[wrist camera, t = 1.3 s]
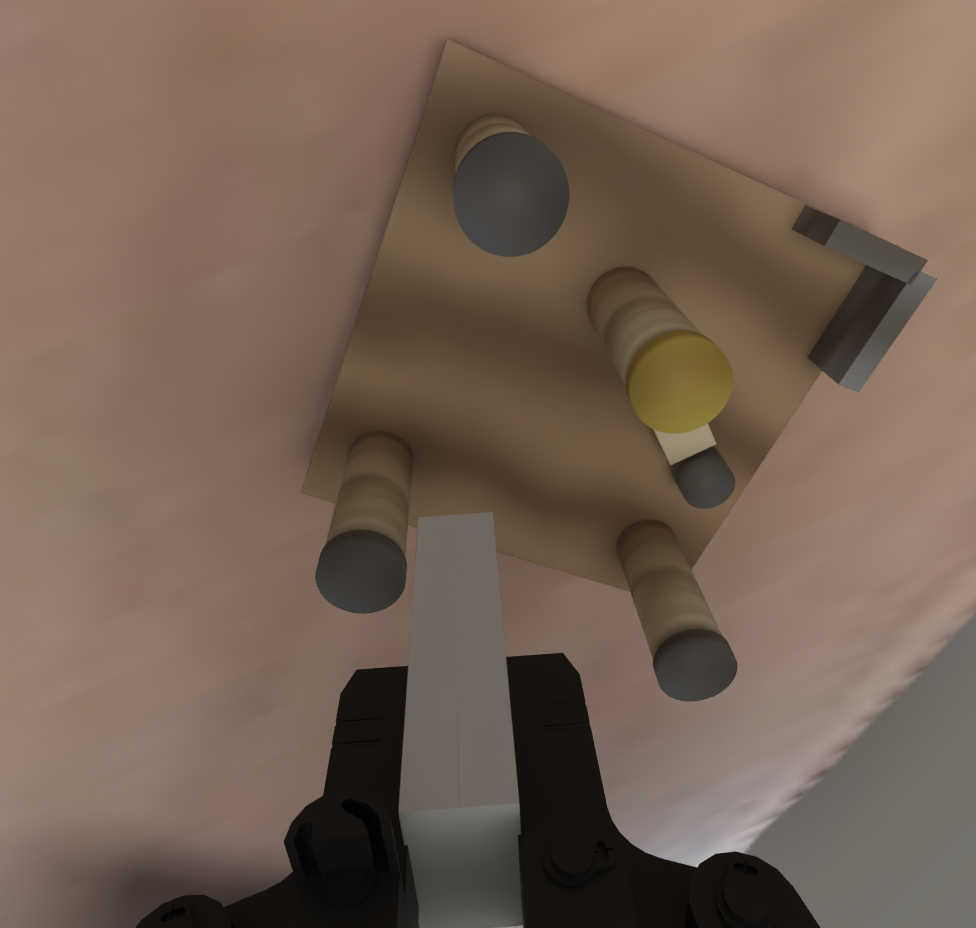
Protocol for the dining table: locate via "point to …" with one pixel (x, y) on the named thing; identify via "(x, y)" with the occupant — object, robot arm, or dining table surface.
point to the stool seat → (577, 349)
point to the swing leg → (667, 378)
